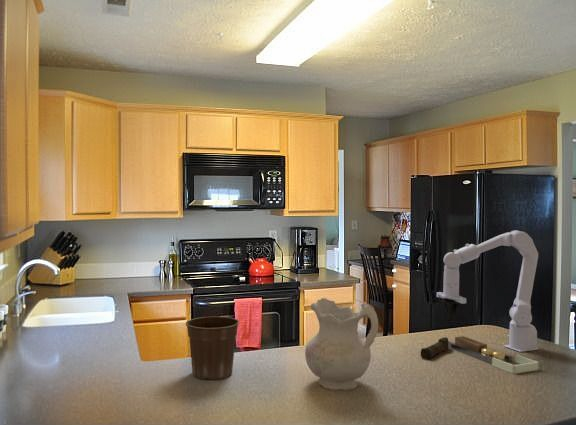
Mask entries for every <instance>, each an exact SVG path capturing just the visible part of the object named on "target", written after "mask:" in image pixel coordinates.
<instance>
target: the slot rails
mask: <svg viewBox="0 0 576 425" xmlns="http://www.w3.org/2000/svg"><path fill="white" fill-rule="evenodd" d="M449 348H450V349H452V350H454V351H457V352H459V353H461V354H465V355H468V356H470V357H473V358H475V359H478V360H481V361H484V362H486V363H489V364H490V365H492V358H493V357H491V356H488V355H485V354H483V353H480V352H477V351H474V350H472V349H469V348H466V347H464V346H461V345H458V344H455V342H453V341H451V340H448V349H449ZM487 348H489V347H488V346H487ZM493 350H494V351H497V350H496V349H493ZM505 362H507V363H510V362H513V356H512V355H510V354H508V353H505Z"/></svg>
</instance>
